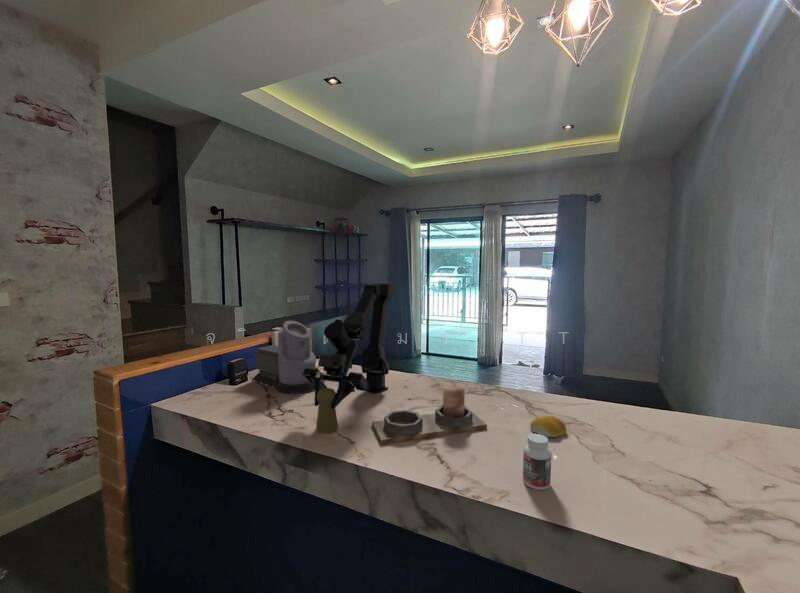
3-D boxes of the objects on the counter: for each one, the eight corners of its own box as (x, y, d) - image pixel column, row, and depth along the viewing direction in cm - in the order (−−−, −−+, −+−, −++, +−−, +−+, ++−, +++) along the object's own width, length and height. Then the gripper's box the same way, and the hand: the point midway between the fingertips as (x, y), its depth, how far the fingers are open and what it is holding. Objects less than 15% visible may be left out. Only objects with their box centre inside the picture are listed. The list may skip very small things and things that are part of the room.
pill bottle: (518, 483, 74) (519, 438, 74) (528, 472, 79) (529, 429, 78) (545, 494, 71) (547, 447, 70) (554, 482, 75) (555, 437, 74)
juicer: (331, 385, 136) (330, 320, 133) (298, 398, 122) (296, 327, 120) (280, 371, 152) (278, 314, 150) (245, 382, 139) (243, 319, 137)
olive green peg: (340, 423, 102) (339, 386, 101) (334, 433, 97) (333, 394, 95) (320, 422, 103) (319, 385, 102) (313, 432, 97) (311, 393, 96)
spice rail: (381, 444, 91) (381, 405, 90) (372, 425, 101) (371, 390, 100) (486, 428, 99) (487, 392, 98) (468, 412, 110) (468, 380, 109)
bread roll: (571, 433, 97) (572, 418, 97) (551, 442, 92) (551, 427, 92) (544, 421, 104) (544, 408, 104) (524, 429, 99) (524, 415, 99)
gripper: (304, 340, 104) (281, 389, 95) (362, 345, 98) (343, 398, 89) (320, 359, 113) (300, 407, 103) (374, 365, 106) (358, 416, 97)
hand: (323, 407), depth 98 cm, fingers closed on olive green peg, 5 cm apart
